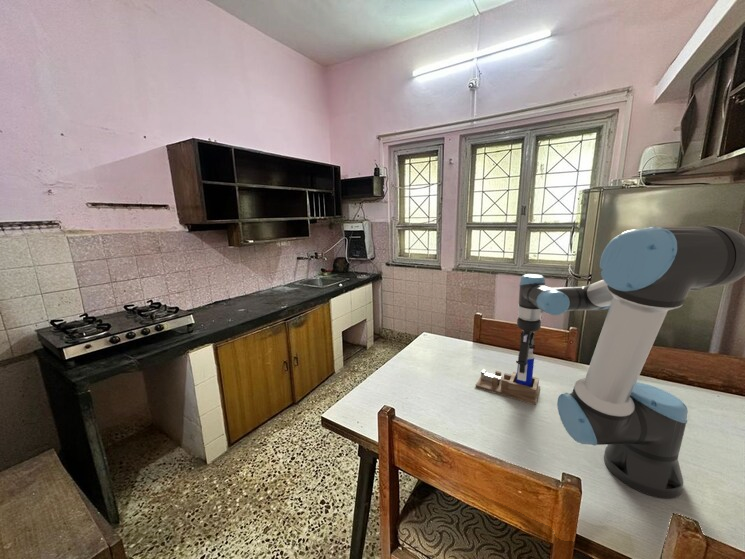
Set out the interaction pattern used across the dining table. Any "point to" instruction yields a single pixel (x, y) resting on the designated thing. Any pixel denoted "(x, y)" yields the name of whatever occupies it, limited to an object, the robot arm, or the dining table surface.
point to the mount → (511, 387)
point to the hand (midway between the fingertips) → (524, 371)
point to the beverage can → (528, 371)
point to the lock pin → (489, 376)
